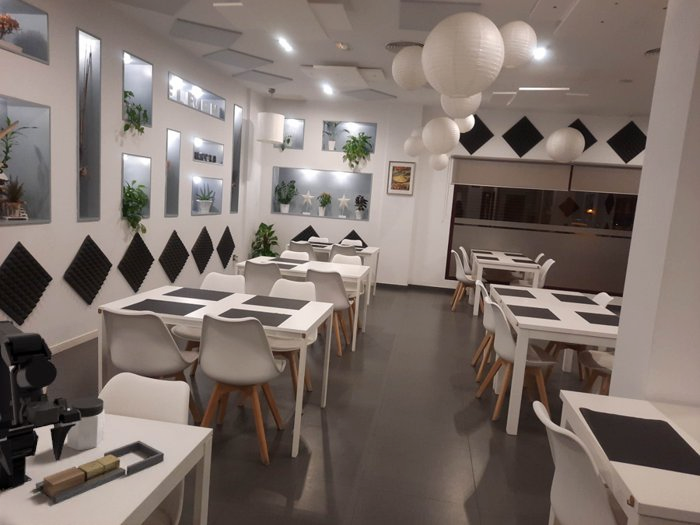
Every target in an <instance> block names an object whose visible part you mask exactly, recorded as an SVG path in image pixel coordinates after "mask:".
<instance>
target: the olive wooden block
mask: <svg viewBox="0 0 700 525" xmlns="http://www.w3.org/2000/svg"><path fill="white" fill-rule="evenodd" d="M95 460H96V459H95ZM95 460H92V461H89V462H86V463H83V464H81V465H78V467H77V468H78V469H79V470H81V471H83V472H84V473H85V477H84V482H86V481H89V480H91V479H94V478H96V477H99V476H101V475H103V473H104V466H103V465H102V464H100V463H98V462H97V461H95Z"/></svg>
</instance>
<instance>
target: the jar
mask: <svg viewBox="0 0 700 525" xmlns="http://www.w3.org/2000/svg"><path fill="white" fill-rule="evenodd" d="M69 405H70V406H69V410H73V409H78V410H79V411H80V413H81V420H80V421H76V422H72V423H73V424H75V423H76V425H75V426H73V427H71V429H70V430H69V432H68V433H67V436H66V439H67V440H66V446H67V447H69V448H72V449H74V450H76V451H82V450H88V449H93V448H98V446H99V445H101V443H102V442H103V441H104V438H105V437H104V436H105V431H104V430H105V418H106V417H105V416H106V412H105V411H106V410H105V409H104V400H103V399H102V398H99V397H94V396H93V397H92V396H91V397H82V398H78V399H75V400H73V401H71V402H70V404H69Z"/></svg>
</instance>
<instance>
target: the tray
mask: <svg viewBox="0 0 700 525" xmlns="http://www.w3.org/2000/svg"><path fill="white" fill-rule="evenodd" d="M137 450H138V451H140V452H142V453H143V454H145V455H147V456H149V457H148V458H145V459H142V460H139V461H137V462H134V463H133V464H130V465H127V466H126V475H127V476H131V475H133V474H136V473H138V472H140V471H143V470H145V469H148V468H150V467H152V466H154V465H155V466H156V465H157V464H159V463H162V462H164V460H165V459H164V455H165V453H164V452H162V451H160V450H158V449H156V448H154V447H152V446H150V445H148V444H147V443H145V442H143V441H141V440H137V441H135V442H131V443H129V444H125V445H123V446H119V447H118V448H114V449H112V450H110V451H107V452H103V457H105V456H107V455H110V454H111V455H113V456H115V457H116V458H120V457H122V456H125V455H127V454H130V453H133V452H135V451H137Z"/></svg>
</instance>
